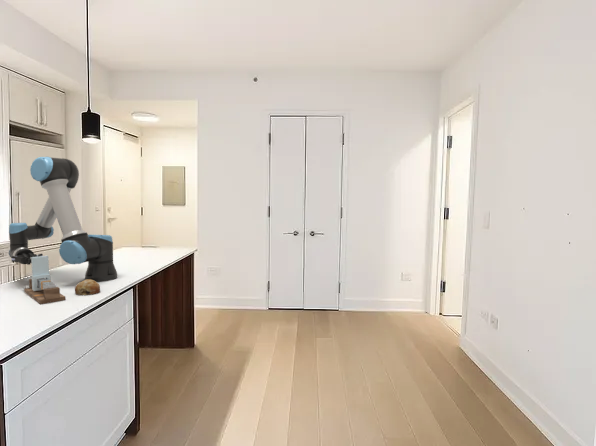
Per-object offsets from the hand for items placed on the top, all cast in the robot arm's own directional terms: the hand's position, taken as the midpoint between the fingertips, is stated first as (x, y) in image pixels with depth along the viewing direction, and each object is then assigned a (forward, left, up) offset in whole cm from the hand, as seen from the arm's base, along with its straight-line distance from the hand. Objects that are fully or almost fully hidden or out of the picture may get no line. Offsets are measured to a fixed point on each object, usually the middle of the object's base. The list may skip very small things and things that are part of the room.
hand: (35, 261), depth 178 cm
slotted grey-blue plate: (-3, +7, -11) cm, 14 cm away
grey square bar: (-5, +10, -10) cm, 15 cm away
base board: (-5, +10, -13) cm, 18 cm away
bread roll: (-22, +10, -14) cm, 28 cm away
